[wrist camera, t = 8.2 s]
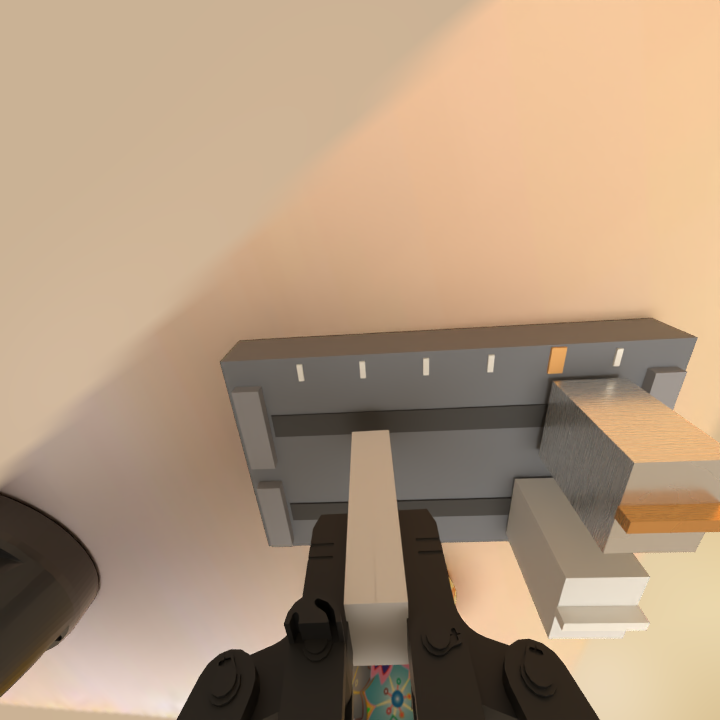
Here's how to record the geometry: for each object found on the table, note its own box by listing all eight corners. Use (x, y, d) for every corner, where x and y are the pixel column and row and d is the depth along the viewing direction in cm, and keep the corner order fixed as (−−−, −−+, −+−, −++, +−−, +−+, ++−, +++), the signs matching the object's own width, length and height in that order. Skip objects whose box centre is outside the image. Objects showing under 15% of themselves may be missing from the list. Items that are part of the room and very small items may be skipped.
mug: (307, 569, 25) (267, 802, 15) (420, 523, 23) (456, 763, 13) (391, 648, 29) (402, 870, 19) (494, 616, 27) (564, 851, 17)
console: (279, 511, 22) (233, 667, 15) (239, 340, 17) (140, 447, 10) (596, 502, 21) (717, 666, 14) (652, 318, 16) (890, 419, 9)
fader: (537, 455, 16) (612, 570, 11) (551, 380, 15) (647, 477, 10) (605, 452, 16) (712, 569, 11) (627, 377, 14) (766, 474, 9)
